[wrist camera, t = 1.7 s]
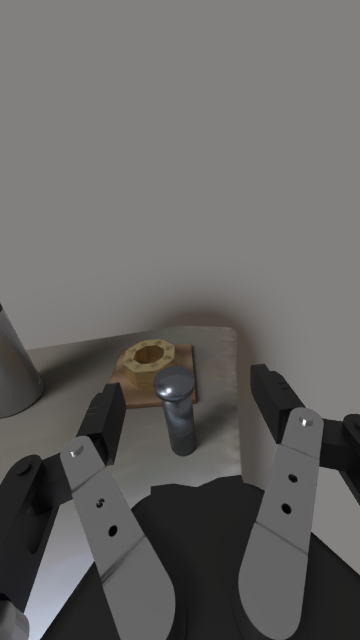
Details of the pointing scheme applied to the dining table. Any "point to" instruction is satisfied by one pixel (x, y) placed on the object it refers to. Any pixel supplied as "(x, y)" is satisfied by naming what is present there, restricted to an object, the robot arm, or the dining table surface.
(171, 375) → the steel pin
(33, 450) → the dining table surface
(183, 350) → the nut base
